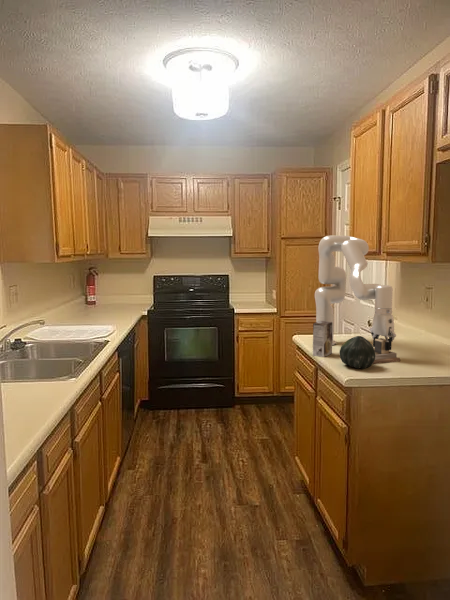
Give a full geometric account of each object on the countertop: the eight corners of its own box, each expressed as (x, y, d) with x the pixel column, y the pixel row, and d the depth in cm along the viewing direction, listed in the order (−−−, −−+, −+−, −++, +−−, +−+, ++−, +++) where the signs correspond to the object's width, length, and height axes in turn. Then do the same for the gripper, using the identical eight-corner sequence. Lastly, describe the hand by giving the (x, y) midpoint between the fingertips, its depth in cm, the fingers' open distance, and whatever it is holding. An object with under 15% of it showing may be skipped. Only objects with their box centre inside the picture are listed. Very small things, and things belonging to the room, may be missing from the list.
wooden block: (381, 354, 205) (381, 338, 204) (388, 356, 200) (389, 340, 200) (373, 355, 204) (374, 339, 203) (381, 357, 199) (381, 340, 198)
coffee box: (320, 352, 217) (321, 320, 215) (332, 353, 213) (333, 321, 211) (312, 355, 210) (312, 323, 208) (324, 357, 206) (324, 324, 204)
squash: (350, 348, 200) (343, 327, 191) (382, 354, 191) (376, 332, 182) (339, 372, 193) (331, 352, 184) (372, 379, 184) (365, 359, 175)
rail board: (353, 357, 204) (354, 345, 204) (380, 354, 210) (381, 342, 209) (372, 364, 192) (372, 350, 191) (400, 360, 198) (400, 347, 197)
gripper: (403, 313, 193) (401, 351, 195) (376, 308, 209) (375, 344, 211) (390, 314, 190) (388, 353, 192) (364, 309, 206) (363, 345, 208)
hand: (382, 348), depth 202 cm, fingers open, 7 cm apart
